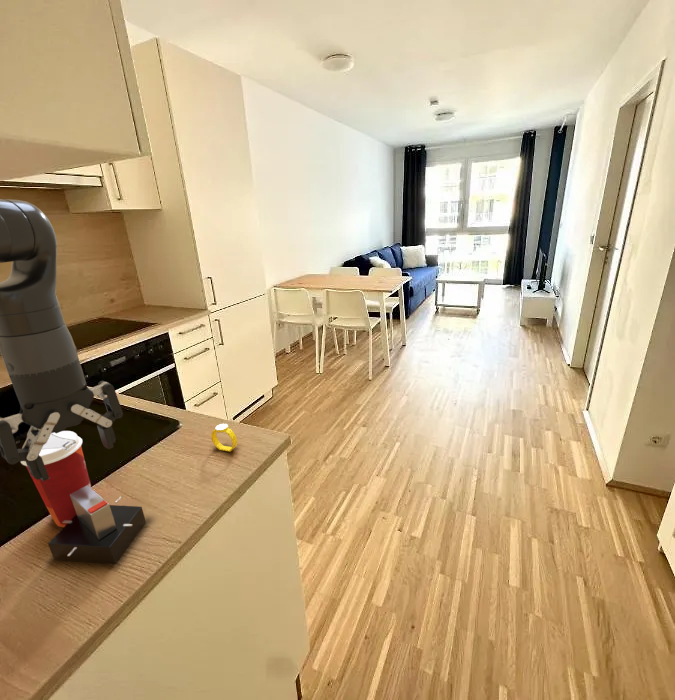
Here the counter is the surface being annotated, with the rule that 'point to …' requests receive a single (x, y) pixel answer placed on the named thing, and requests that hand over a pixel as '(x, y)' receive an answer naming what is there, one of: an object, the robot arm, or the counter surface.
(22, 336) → the robot arm
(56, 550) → the black square block
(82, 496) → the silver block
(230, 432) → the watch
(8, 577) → the counter surface
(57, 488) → the coffee cup
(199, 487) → the counter surface
